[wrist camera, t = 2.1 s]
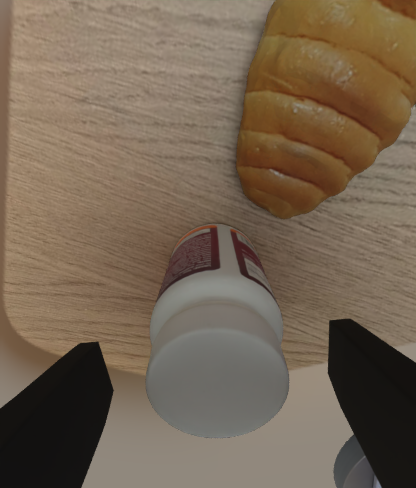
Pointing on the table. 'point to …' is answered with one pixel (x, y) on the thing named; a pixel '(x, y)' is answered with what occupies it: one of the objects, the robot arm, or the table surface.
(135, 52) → the table surface
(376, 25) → the pastry
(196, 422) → the pill bottle
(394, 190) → the table surface
